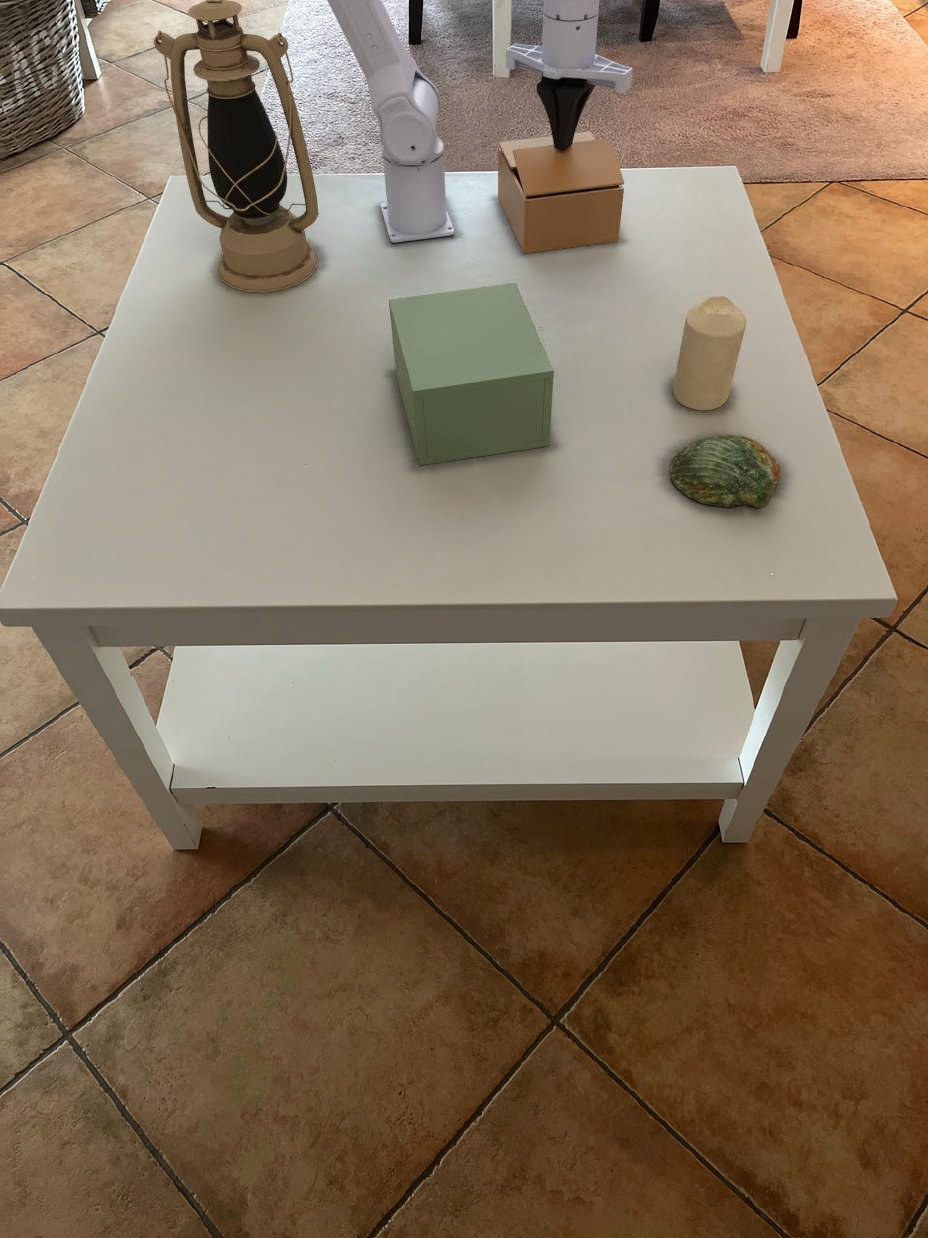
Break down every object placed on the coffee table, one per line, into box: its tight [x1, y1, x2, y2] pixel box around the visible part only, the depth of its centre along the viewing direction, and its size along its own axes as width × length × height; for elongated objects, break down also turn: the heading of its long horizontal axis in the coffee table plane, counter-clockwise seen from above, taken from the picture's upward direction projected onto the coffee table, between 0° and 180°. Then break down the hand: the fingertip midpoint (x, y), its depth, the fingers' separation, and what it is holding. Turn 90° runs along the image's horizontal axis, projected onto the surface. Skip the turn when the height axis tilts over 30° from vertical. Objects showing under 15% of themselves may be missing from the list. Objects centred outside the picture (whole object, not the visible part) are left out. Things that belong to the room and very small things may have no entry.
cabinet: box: [388, 282, 555, 467], centre depth 88 cm, size 15×13×9 cm
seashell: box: [668, 434, 782, 509], centre depth 82 cm, size 10×4×10 cm
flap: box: [513, 137, 625, 197], centre depth 105 cm, size 7×12×1 cm, turn 102°
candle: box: [672, 295, 748, 411], centre depth 87 cm, size 6×6×10 cm
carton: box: [497, 131, 625, 255], centre depth 111 cm, size 14×12×7 cm
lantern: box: [153, 0, 320, 294], centre depth 97 cm, size 15×12×30 cm
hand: (563, 145), depth 106 cm, fingers closed
